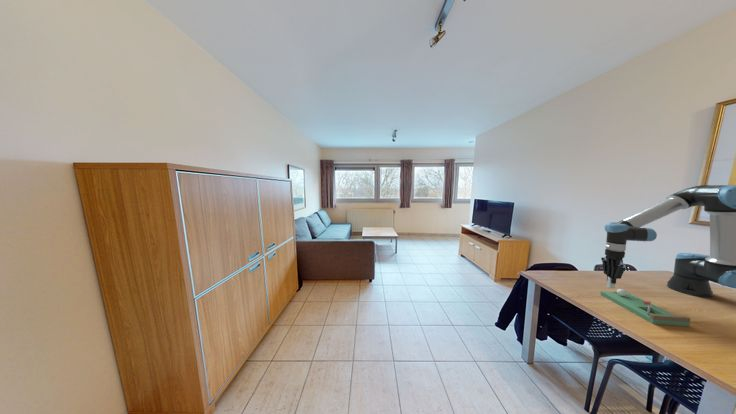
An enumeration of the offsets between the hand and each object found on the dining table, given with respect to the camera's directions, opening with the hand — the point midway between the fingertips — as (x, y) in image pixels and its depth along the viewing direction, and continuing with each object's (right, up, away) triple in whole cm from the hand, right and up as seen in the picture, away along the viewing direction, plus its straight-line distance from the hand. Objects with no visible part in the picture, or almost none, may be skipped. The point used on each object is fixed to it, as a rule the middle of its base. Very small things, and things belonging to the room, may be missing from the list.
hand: (610, 287), depth 124 cm
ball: (-1, 0, -6) cm, 7 cm away
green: (-2, -5, -15) cm, 16 cm away
